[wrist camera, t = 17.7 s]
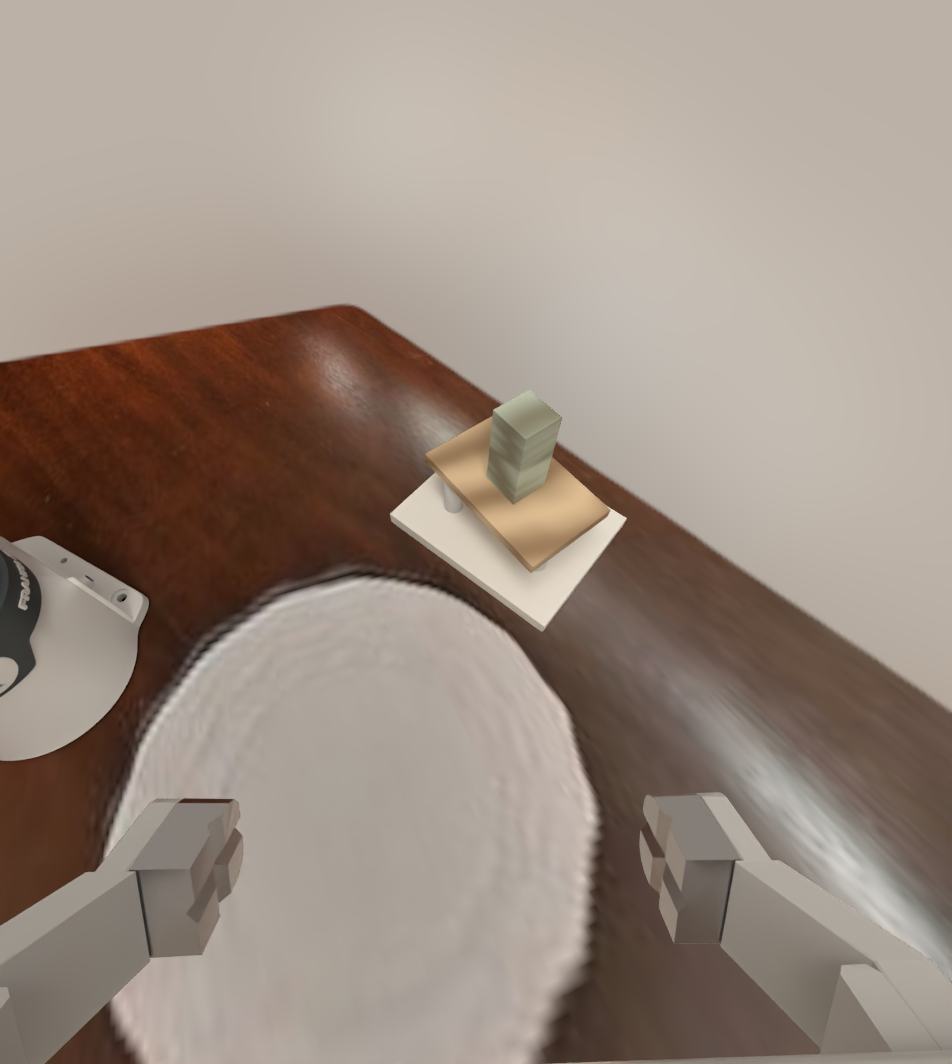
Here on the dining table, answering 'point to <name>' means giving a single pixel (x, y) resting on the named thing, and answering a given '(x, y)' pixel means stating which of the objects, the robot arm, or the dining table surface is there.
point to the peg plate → (499, 552)
